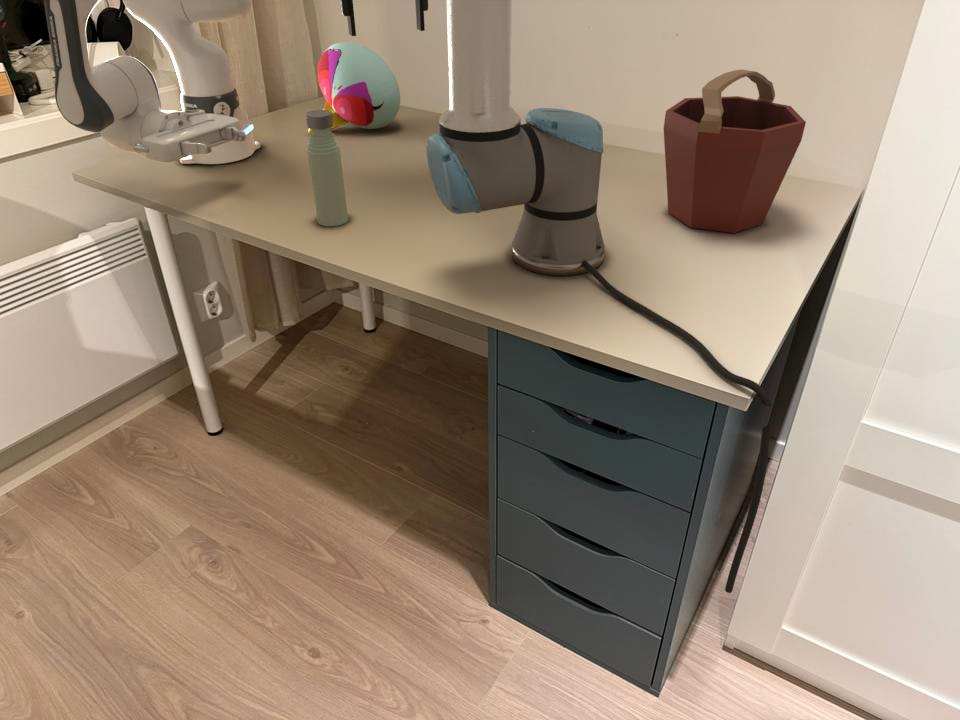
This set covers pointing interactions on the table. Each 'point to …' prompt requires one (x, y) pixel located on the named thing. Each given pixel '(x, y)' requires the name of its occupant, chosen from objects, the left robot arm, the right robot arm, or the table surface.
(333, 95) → the toy
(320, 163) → the bottle
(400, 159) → the table surface
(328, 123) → the cap
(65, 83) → the left robot arm
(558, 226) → the right robot arm
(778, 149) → the bucket
